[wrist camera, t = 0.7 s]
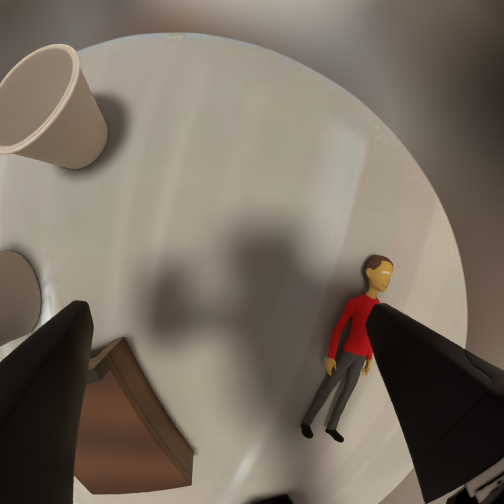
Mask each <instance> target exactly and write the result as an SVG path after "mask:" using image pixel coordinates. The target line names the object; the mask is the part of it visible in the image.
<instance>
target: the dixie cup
mask: <svg viewBox="0 0 504 504" xmlns="http://www.w3.org/2000/svg"><path fill="white" fill-rule="evenodd" d="M107 137H108V128H107V125H106V122H105V120H104V118H103V115H102V113H101V111H100V110H99V108H98V106H97V104H96V102H95V99H94V97H93V95H92V93H91V91H90V88H89V86H88V84H87V82H86V80H85V77H84V75H83V73H82V70H81V64H80V58H79V55H78V53H77V52H76V51H75V49H73V48H72V47H70V46H68V45H64V44H54V45H49V46H46V47H43V48H41V49H39V50H36V51H34V52H33V53H31V54H29V55H28V56H26V57H25V58H24V59H22V60H21V61H20V62H19V63H18V64H17V65H16V66H15V67H14V68H13V69H12V70H11V71H10V72H9V73H8V74H7V75H6V77H5V78H4V79H3V81H2V82H1V84H0V154H17V155H20V156H24V157H28V158H32V159H36V160H40V161H43V162H47V163H51V164H55V165H58V166H62V167H66V168H69V169H80V168H83V167H85V166H87V165H89V164H91V163H92V162H93V161H95V160H96V159H97V158H98V156H99V155H100V154H101V152H102V151H103V149H104V147H105V144H106V142H107Z"/></svg>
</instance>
